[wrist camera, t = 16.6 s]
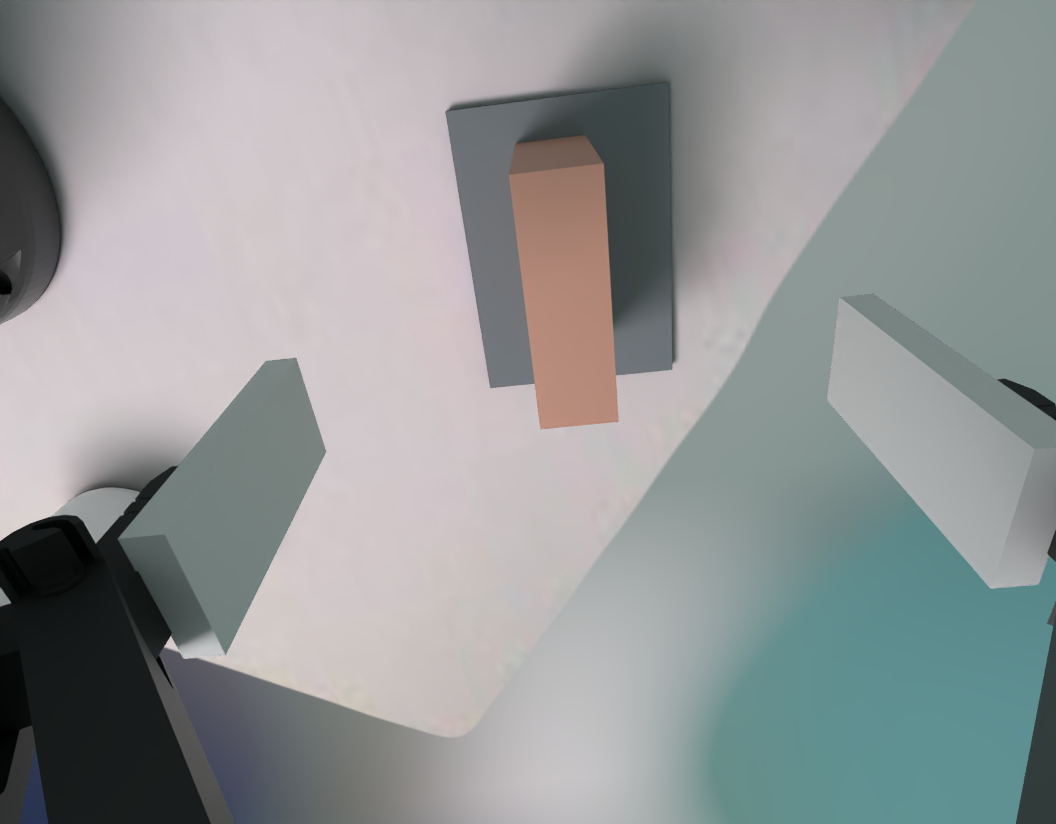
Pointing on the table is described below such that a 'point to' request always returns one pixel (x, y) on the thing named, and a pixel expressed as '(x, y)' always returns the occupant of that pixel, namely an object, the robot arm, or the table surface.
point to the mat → (631, 204)
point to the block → (566, 279)
